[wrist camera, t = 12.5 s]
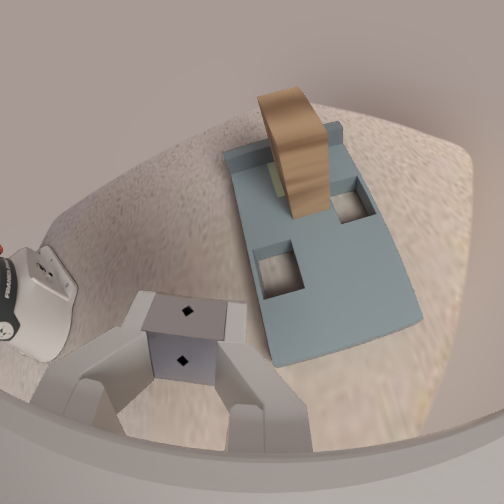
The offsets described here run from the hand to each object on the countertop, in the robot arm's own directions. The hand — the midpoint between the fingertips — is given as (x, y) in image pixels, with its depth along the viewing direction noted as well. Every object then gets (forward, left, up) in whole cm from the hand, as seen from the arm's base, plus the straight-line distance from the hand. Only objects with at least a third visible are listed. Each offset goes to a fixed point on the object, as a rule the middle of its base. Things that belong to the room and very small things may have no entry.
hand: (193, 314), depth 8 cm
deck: (-8, +13, -25) cm, 29 cm away
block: (-13, +16, -22) cm, 30 cm away
